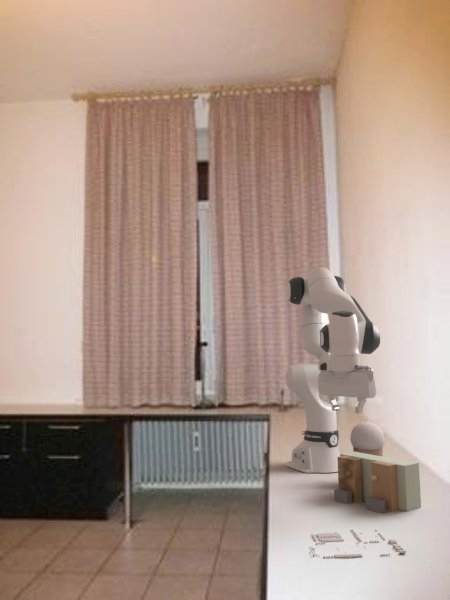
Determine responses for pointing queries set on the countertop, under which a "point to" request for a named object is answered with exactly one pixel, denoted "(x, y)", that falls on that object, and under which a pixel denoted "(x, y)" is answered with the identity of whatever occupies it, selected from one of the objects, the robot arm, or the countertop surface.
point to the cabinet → (385, 483)
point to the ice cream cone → (367, 439)
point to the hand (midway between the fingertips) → (347, 411)
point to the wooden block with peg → (350, 476)
